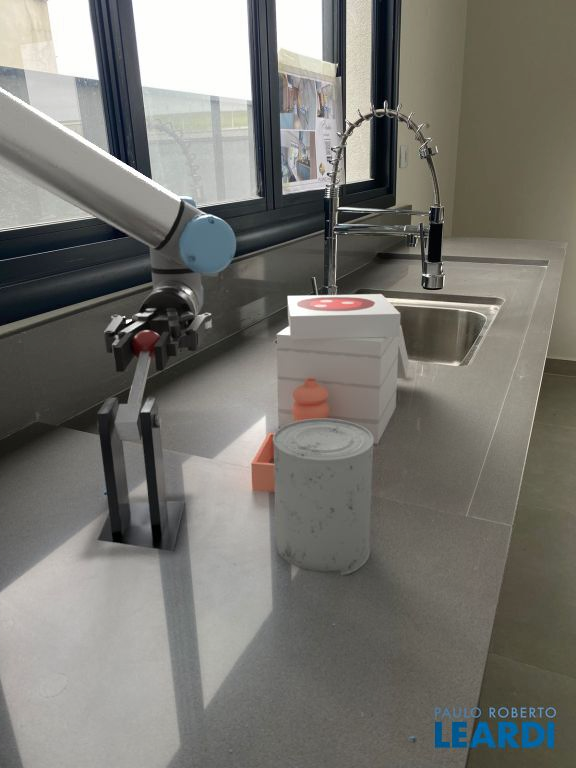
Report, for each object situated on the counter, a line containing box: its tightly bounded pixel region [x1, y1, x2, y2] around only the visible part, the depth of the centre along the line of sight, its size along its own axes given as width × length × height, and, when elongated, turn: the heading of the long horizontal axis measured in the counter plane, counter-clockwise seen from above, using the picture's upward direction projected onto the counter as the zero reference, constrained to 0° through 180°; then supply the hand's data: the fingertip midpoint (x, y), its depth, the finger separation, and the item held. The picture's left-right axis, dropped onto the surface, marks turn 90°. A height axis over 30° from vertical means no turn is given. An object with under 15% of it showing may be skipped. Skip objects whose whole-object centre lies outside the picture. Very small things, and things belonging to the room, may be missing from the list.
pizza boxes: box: [276, 293, 410, 445], centre depth 96 cm, size 19×30×18 cm, turn 161°
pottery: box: [250, 378, 330, 493], centre depth 77 cm, size 18×10×10 cm, turn 169°
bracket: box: [96, 396, 186, 552], centre depth 61 cm, size 10×8×15 cm
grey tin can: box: [273, 418, 375, 577], centre depth 59 cm, size 10×10×12 cm
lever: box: [114, 330, 160, 442], centre depth 65 cm, size 16×4×4 cm, turn 2°
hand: (138, 359), depth 65 cm, fingers closed on lever, 3 cm apart
